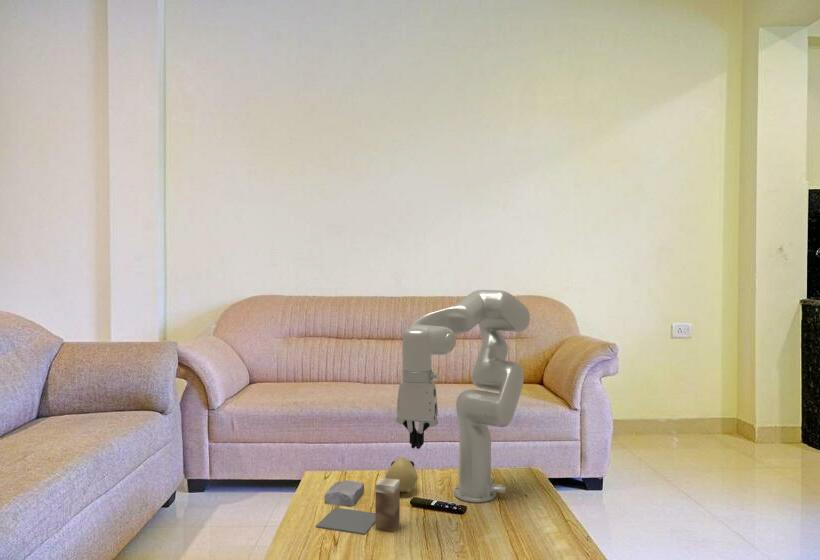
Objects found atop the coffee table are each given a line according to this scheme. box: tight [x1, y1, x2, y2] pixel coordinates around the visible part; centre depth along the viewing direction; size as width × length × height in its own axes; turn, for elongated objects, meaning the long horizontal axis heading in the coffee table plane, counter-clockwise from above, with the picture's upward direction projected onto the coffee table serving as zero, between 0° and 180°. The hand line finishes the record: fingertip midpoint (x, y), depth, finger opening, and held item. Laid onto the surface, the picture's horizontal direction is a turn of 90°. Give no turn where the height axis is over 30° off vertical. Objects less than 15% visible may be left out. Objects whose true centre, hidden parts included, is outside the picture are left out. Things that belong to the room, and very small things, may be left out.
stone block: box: [324, 479, 365, 507], centre depth 170 cm, size 12×5×10 cm
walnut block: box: [374, 477, 401, 533], centre depth 151 cm, size 5×5×12 cm
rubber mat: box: [315, 507, 375, 536], centre depth 154 cm, size 14×12×1 cm
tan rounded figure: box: [384, 456, 418, 493], centre depth 175 cm, size 10×12×11 cm
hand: (416, 446), depth 148 cm, fingers closed
